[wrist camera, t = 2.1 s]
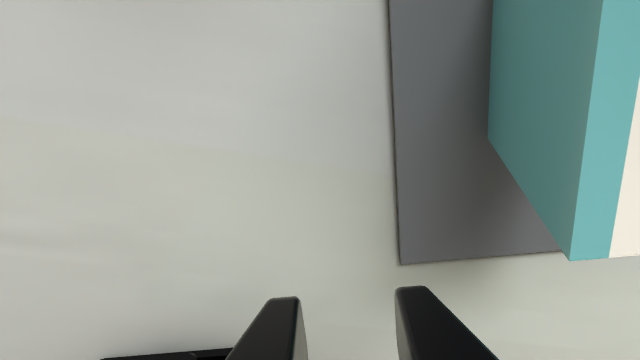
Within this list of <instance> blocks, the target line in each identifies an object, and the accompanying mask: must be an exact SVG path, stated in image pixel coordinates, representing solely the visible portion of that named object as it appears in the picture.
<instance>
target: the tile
mask: <svg viewBox="0 0 640 360" xmlns="http://www.w3.org/2000/svg"><path fill="white" fill-rule="evenodd" d="M487 138H488V140H489V141H490V143H491V144H492V146H493V147H494V149H495V150H496V152H497V153H498V155H499V156H500V158H501V159H502V161H503V162H504V164H505V165H506V167H507V168H508V170H509V171H510V173H511V174H512V176H513V177H514V179H515V180H516V182H517V183H518V185H519V186H520V188H521V189H522V191H523V192H524V194H525V195H526V197H527V198H528V200H529V201H530V203H531V204H532V206H533V207H534V209H535V211H536V212H537V214H538V215H539V217H540V218H541V220H542V221H543V223H544V224H545V226H546V227H547V229H548V230H549V232H550V233H551V235H552V236H553V238H554V239H555V241H556V242H557V244H558V245H559V247H560V248H561V250H562V251H563V253H564V254H565V256H566V257H567V259H568V260H569V261H578V260H589V259H601V258H612V257H624V256H635V255H640V0H493V16H492V40H491V64H490V88H489V112H488V136H487Z"/></svg>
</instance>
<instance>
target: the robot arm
mask: <svg viewBox="0 0 640 360" xmlns="http://www.w3.org/2000/svg"><path fill="white" fill-rule="evenodd" d="M395 317H396V336H397V346H398V354H399V360H499V359H498V358H497V357H496V356H495V355H494V354H493V353H492V352H491V351H490V350H489V349H488V348H487V347H486V346H485V345H484V344H483V343H482V342H481V341H480V340H479V339H478V338H477V337H476V336H475V335H474V334H473V333H472V332H471V331H470V330H469V329H468V328H467V327H466V326H465V325H464V324H463V323H462V322H461V321H460V320H459V319H458V318H457V317H456V316H455V315H454V314H453V313H452V312H451V311H450V310H449V309H448V308H447V307H446V306H445V305H444V304H443V303H442V302H441V301H440V300H439V299H438V298H437V297H436V296H435V295H434V294H433V293H432V292H431V291H430V290H429V289H428V288H427V287H425V286H410V287H399V288H397V289H396V291H395ZM101 360H308V352H307V342H306V335H305V328H304V322H303V315H302V309H301V303H300V300H299V299H298V298H297V297H295V296H293V297H281V298H272V299H270V300H268V301H267V302H266V304H265V305H264V307H263V308H262V309H261V311H260V312H259V313H258V315H257V316H256V318H255V319H254V320H253V322H252V323H251V324H250V326H249V327H248V329H247V330H246V331H245V333H244V334H243V335H242V337H241V338H240V340H239V341H238V342H237V344H236V345H235V347H234V348H224V349H212V350H200V351H188V352H175V353H163V354H151V355H139V356H127V357H115V358H104V359H101Z"/></svg>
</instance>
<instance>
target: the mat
mask: <svg viewBox="0 0 640 360" xmlns="http://www.w3.org/2000/svg"><path fill="white" fill-rule="evenodd" d="M492 16H493V0H389V19H390V42H391V65H392V88H393V112H394V135H395V158H396V181H397V204H398V227H399V250H400V261H401V264H411V263H423V262H434V261H446V260H457V259H469V258H480V257H492V256H503V255H515V254H526V253H538V252H549V251H560V250H561V248H560V247H559V245H558V244H557V242H556V241H555V239H554V238H553V236H552V235H551V233H550V232H549V230H548V229H547V227H546V226H545V224H544V223H543V221H542V220H541V218H540V217H539V215H538V214H537V212H536V211H535V209H534V207H533V206H532V204H531V203H530V201H529V200H528V198H527V197H526V195H525V194H524V192H523V191H522V189H521V188H520V186H519V185H518V183H517V182H516V180H515V179H514V177H513V176H512V174H511V173H510V171H509V170H508V168H507V167H506V165H505V164H504V162H503V161H502V159H501V158H500V156H499V155H498V153H497V152H496V150H495V149H494V147H493V146H492V144H491V143H490V141H489V140H488V138H487V136H488V112H489V88H490V64H491V40H492Z"/></svg>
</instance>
